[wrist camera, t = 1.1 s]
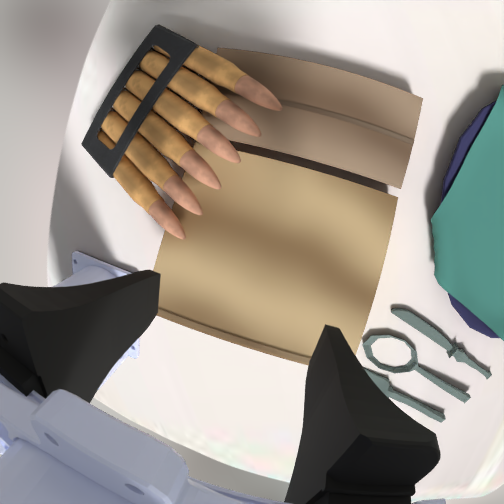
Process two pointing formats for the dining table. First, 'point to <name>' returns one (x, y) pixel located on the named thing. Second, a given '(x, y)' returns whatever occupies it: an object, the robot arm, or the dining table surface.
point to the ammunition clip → (176, 113)
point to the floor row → (326, 115)
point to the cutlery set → (464, 251)
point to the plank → (275, 256)
